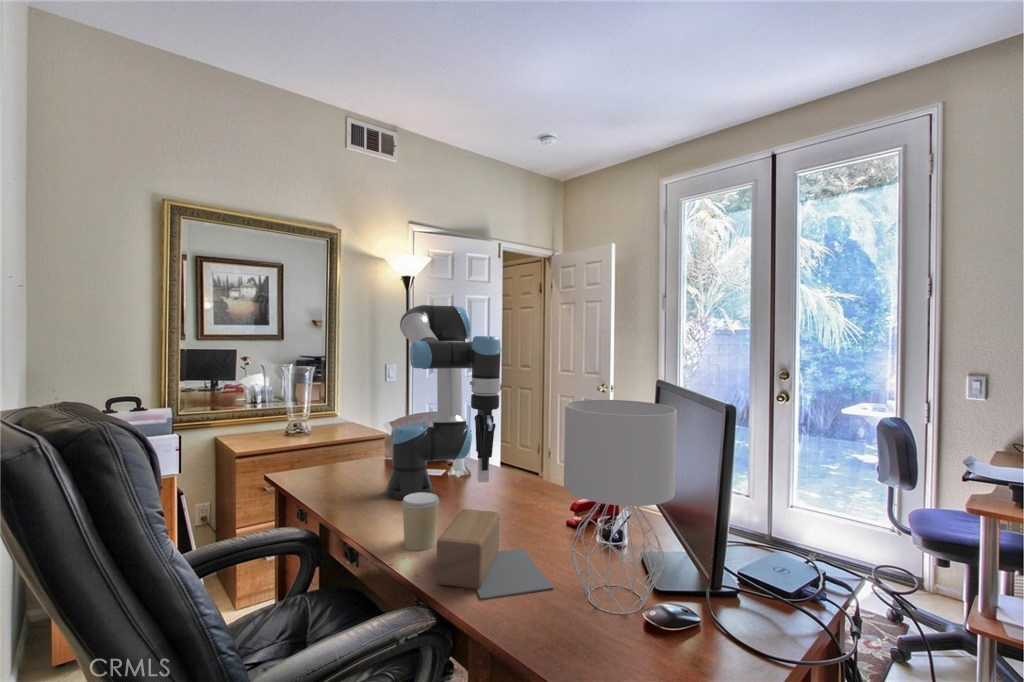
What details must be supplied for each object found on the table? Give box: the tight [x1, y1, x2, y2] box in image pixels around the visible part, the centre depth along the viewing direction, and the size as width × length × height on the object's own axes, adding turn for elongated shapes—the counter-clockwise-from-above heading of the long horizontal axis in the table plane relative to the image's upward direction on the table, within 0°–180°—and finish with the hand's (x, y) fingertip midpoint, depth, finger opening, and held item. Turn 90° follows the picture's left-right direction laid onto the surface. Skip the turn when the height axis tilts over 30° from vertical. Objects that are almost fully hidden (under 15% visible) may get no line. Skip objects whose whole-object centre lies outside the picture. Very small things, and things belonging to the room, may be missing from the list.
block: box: [435, 508, 500, 590], centre depth 113 cm, size 10×10×20 cm
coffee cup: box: [401, 492, 440, 551], centre depth 126 cm, size 9×9×12 cm
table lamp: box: [563, 399, 678, 616], centre depth 101 cm, size 22×22×40 cm
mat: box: [475, 547, 554, 601], centre depth 112 cm, size 20×16×1 cm
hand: (483, 481), depth 131 cm, fingers closed
